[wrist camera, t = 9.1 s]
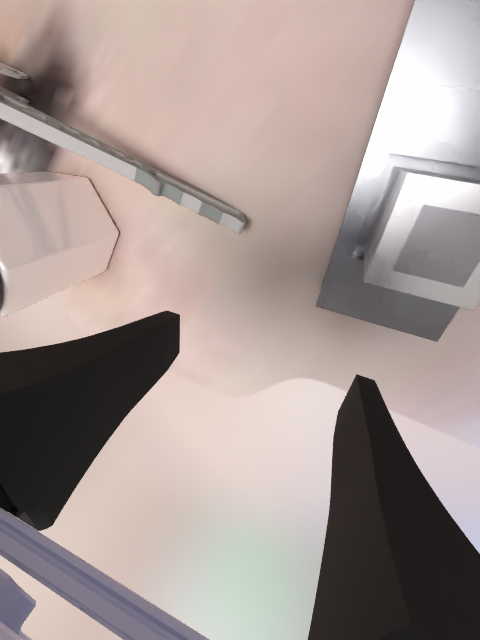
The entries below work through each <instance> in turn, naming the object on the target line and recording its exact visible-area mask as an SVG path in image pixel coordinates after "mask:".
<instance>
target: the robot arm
mask: <svg viewBox="0 0 480 640" xmlns="http://www.w3.org/2000/svg"><path fill="white" fill-rule="evenodd" d="M179 347H180V315H179V314H176V313H173V312H170V311H164V312H161V313H158V314H155V315H152V316H149V317H146V318H143V319H141V320H138V321H135V322H132V323H129V324H126V325H123V326H121V327H118V328H114V329H111V330H108V331H105V332H102V333H98V334H95V335H92V336H88V337H85V338H81V339H77V340H72V341H68V342H64V343H59V344H54V345H48V346H43V347H37V348H32V349H26V350H18V351H11V352H2V353H0V555H1V556H3V557H4V558H6V559H7V560H8V561H10V562H11V563H13V564H14V565H16V566H17V567H19V568H20V569H21V570H23V571H24V572H26V573H27V574H29V575H30V576H32V577H33V578H35V579H36V580H38V581H39V582H41V583H42V584H43V585H45V586H46V587H48V588H49V589H51V590H52V591H54V592H55V593H56V594H58V595H59V596H61V597H62V598H64V599H65V600H67V601H68V602H70V603H71V604H72V605H74V606H75V607H77V608H78V609H80V610H81V611H83V612H84V613H86V614H87V615H89V616H90V617H92V618H93V619H95V620H96V621H97V622H99V623H100V624H102V625H103V626H105V627H106V628H108V629H109V630H110V631H112V632H113V633H115V634H116V635H118V636H119V637H121V638H122V639H124V640H209V639H207V638H206V637H204V636H203V635H201V634H200V633H198V632H196V631H195V630H193V629H192V628H190V627H188V626H186V625H185V624H184V623H182V622H180V621H179V620H177V619H176V618H174V617H173V616H171V615H169V614H168V613H166V612H165V611H163V610H161V609H160V608H158V607H157V606H155V605H154V604H152V603H150V602H149V601H147V600H145V599H144V598H143V597H141V596H139V595H138V594H136V593H135V592H133V591H131V590H130V589H128V588H126V587H125V586H124V585H122V584H120V583H119V582H117V581H116V580H114V579H112V578H111V577H109V576H108V575H106V574H104V573H103V572H101V571H100V570H98V569H97V568H95V567H93V566H92V565H90V564H89V563H87V562H85V561H84V560H82V559H81V558H79V557H77V556H76V555H74V554H73V553H71V552H70V551H68V550H66V549H65V548H63V547H62V546H60V545H59V544H57V543H55V542H54V541H52V540H51V539H49V538H47V537H46V536H44V535H42V534H41V533H40V532H38V531H41V530H44V529H47V528H49V527H50V526H52V525H53V524H54V522H55V520H56V519H57V517H58V515H59V513H60V512H61V510H62V509H63V507H64V505H65V504H66V502H67V501H68V499H69V497H70V496H71V494H72V492H73V491H74V489H75V488H76V486H77V484H78V483H79V482H80V480H81V479H82V477H83V476H84V474H85V472H86V471H87V470H88V468H89V466H90V465H91V463H92V462H93V461H94V459H95V458H96V456H97V455H98V453H99V452H100V451H101V449H102V448H103V446H104V445H105V444H106V442H107V441H108V439H109V438H110V436H111V435H112V434H113V433H114V431H115V430H116V429H117V427H118V426H119V425H120V423H121V422H122V420H123V419H124V418H125V417H126V416H127V414H128V413H129V412H130V411H131V409H133V408H134V406H135V405H136V404H137V403H138V402H139V401H140V400H141V399H142V398H143V397H144V395H145V394H146V393H147V392H148V391H149V390H150V389H151V388H152V387H153V386H154V385H155V384H156V382H157V381H158V380H159V379H160V378H161V377H162V376H163V375H164V374H165V372H166V371H167V370H168V369H169V367H170V366H171V364H172V363H173V361H174V360H175V358H176V357H177V355H178V354H179ZM8 512H9V513H11V514H12V515H11V514H9V513H8ZM13 515H14V516H15V517H14V516H13ZM16 517H17V518H19V519H20V520H19V519H17V518H16ZM21 520H22V521H23V522H22V521H21ZM24 522H25V523H27V524H28V525H30V526H31V527H30V526H28V525H27V524H25V523H24ZM32 527H33V528H34V529H33V528H32ZM35 529H36V530H38V531H36V530H35ZM35 605H36V601H35V600H34V599H33V598H32V597H30V596H29V595H28V594H27V593H26V592H25V591H24V590H23V589H22V588H20V587H19V586H18V585H17V584H16V583H15V582H14V580H13V579H12V578H11V577H10V576H9V575H8V574H7V573H5V572H4V571H3V570H2V569H0V640H32V639H31V638H29V637H28V636H26V635H25V634H24V633H22V632H21V631H20V629H21V626H22V624H23V623H24V621H25V620H26V618H27V617H28V616H29V614H30V613H31V612H32V610H33V609H34V607H35ZM308 640H480V554H479V553H478V551H477V550H476V549H475V547H474V546H473V545H472V544H471V542H470V541H469V540H468V538H467V537H466V536H465V534H464V533H463V532H462V530H461V529H460V528H459V526H458V525H457V524H456V522H455V521H454V520H453V519H452V517H451V516H450V514H449V513H448V511H447V510H446V509H445V507H444V506H443V504H442V503H441V501H440V500H439V498H438V497H437V496H436V494H435V492H434V491H433V489H432V488H431V486H430V485H429V484H428V482H427V480H426V479H425V477H424V476H423V474H422V473H421V471H420V469H419V468H418V466H417V464H416V463H415V461H414V459H413V458H412V456H411V454H410V452H409V450H408V449H407V447H406V445H405V443H404V441H403V440H402V437H401V436H400V434H399V432H398V430H397V428H396V426H395V424H394V422H393V420H392V418H391V415H390V413H389V411H388V409H387V407H386V405H385V402H384V400H383V398H382V396H381V393H380V391H379V389H378V387H377V384H376V382H375V381H374V380H372V379H369V378H366V377H363V376H360V375H356V377H355V379H354V381H353V383H352V385H351V387H350V389H349V391H348V393H347V395H346V397H345V399H344V401H343V403H342V405H341V407H340V409H339V411H338V415H337V421H336V426H335V432H334V439H333V456H332V477H331V498H330V509H329V517H328V525H327V531H326V538H325V544H324V551H323V557H322V563H321V569H320V576H319V581H318V587H317V592H316V598H315V604H314V609H313V615H312V621H311V626H310V631H309V636H308Z"/></svg>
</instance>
